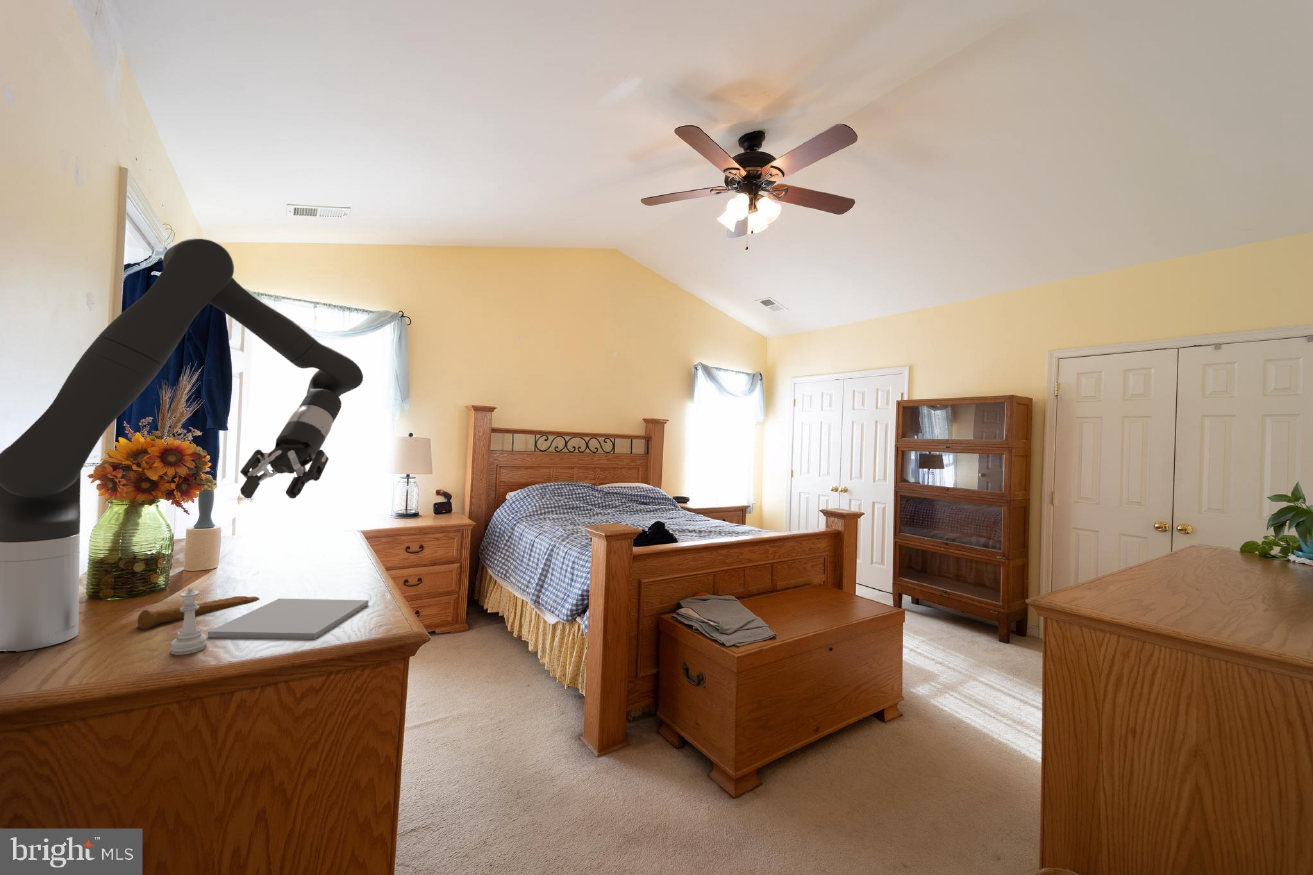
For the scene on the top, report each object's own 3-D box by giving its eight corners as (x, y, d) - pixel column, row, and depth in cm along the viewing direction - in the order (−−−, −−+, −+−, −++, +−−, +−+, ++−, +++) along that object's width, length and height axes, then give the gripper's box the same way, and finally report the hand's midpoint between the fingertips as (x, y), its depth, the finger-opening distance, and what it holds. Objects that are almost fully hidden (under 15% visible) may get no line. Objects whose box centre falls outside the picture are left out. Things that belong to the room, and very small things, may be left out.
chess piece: (164, 652, 85) (165, 589, 85) (195, 642, 89) (196, 582, 89) (182, 656, 84) (183, 593, 84) (213, 646, 88) (214, 585, 88)
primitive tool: (242, 598, 114) (243, 581, 113) (262, 601, 112) (262, 584, 112) (132, 630, 95) (132, 610, 95) (153, 634, 94) (154, 614, 93)
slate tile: (207, 637, 92) (207, 631, 92) (279, 603, 110) (279, 598, 110) (314, 639, 92) (315, 633, 92) (368, 604, 110) (368, 600, 110)
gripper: (262, 419, 109) (217, 484, 98) (331, 419, 108) (294, 484, 98) (281, 443, 114) (241, 507, 104) (347, 443, 114) (314, 507, 103)
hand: (267, 496), depth 101 cm, fingers open, 8 cm apart
